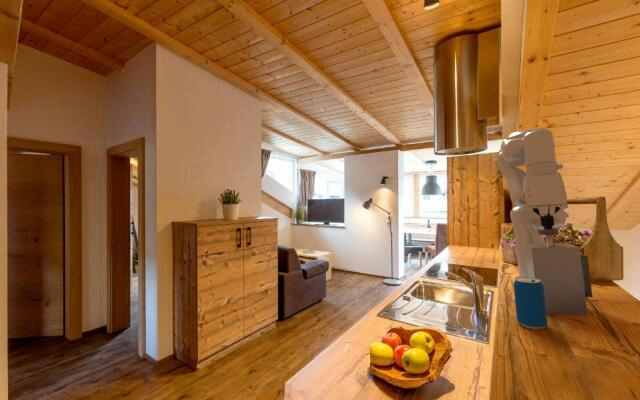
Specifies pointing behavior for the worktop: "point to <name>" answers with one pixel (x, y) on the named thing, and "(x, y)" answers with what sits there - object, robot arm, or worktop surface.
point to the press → (560, 276)
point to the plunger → (548, 234)
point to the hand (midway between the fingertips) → (547, 228)
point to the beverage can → (530, 302)
